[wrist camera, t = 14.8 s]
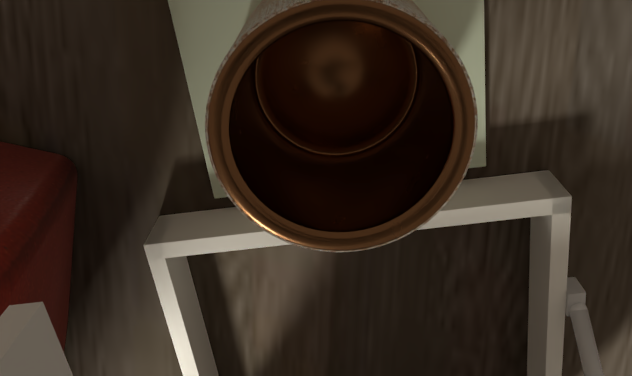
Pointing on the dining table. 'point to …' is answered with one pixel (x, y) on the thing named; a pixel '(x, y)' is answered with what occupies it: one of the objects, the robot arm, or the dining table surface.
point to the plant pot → (37, 230)
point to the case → (463, 208)
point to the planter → (340, 122)
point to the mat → (238, 3)
